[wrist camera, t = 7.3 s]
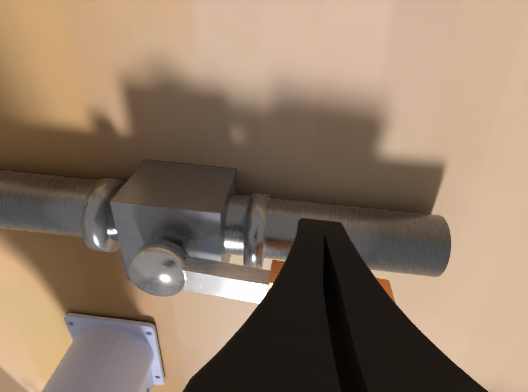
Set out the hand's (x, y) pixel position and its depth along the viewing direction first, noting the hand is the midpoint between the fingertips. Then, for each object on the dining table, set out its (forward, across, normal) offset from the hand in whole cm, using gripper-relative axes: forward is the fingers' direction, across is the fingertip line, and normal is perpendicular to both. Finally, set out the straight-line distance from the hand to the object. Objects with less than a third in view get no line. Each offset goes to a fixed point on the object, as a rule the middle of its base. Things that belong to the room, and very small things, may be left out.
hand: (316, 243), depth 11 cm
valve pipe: (+9, +7, +6) cm, 13 cm away
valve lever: (+4, +2, +6) cm, 8 cm away
